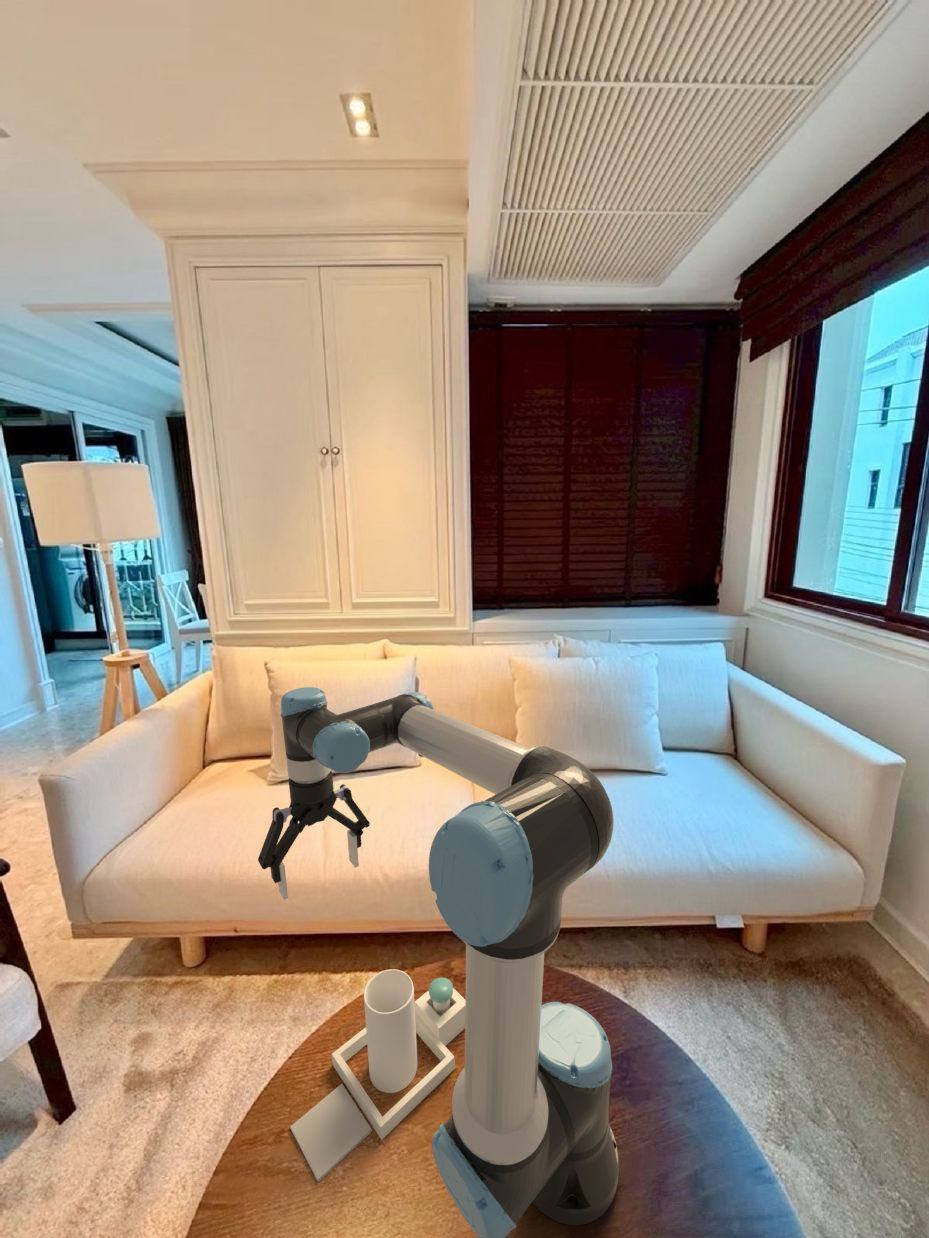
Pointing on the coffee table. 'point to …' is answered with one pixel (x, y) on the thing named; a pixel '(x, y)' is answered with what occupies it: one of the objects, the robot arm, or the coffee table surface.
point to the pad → (330, 1131)
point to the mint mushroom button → (441, 994)
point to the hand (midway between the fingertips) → (320, 878)
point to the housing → (436, 1037)
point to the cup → (391, 1030)
